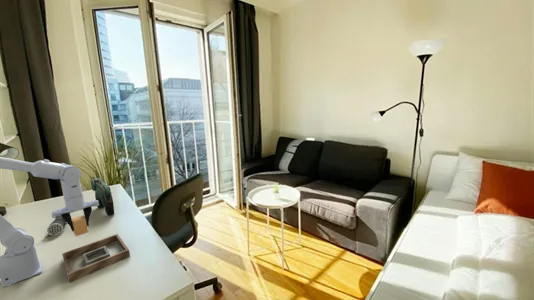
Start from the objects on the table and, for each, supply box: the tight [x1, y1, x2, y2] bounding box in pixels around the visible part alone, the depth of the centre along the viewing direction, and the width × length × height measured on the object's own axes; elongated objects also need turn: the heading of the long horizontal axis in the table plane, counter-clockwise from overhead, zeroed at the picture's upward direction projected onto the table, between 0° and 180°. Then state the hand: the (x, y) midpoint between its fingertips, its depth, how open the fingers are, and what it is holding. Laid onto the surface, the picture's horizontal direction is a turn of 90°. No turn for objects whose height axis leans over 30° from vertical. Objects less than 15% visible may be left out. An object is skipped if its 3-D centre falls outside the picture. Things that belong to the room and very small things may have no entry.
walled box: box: [62, 233, 131, 283], centre depth 91 cm, size 18×16×3 cm
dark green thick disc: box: [90, 174, 115, 217], centre depth 129 cm, size 20×6×20 cm, turn 48°
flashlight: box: [46, 216, 67, 236], centre depth 115 cm, size 15×5×5 cm, turn 28°
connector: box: [71, 214, 89, 237], centre depth 97 cm, size 4×4×6 cm
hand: (80, 227), depth 97 cm, fingers closed on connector, 4 cm apart
